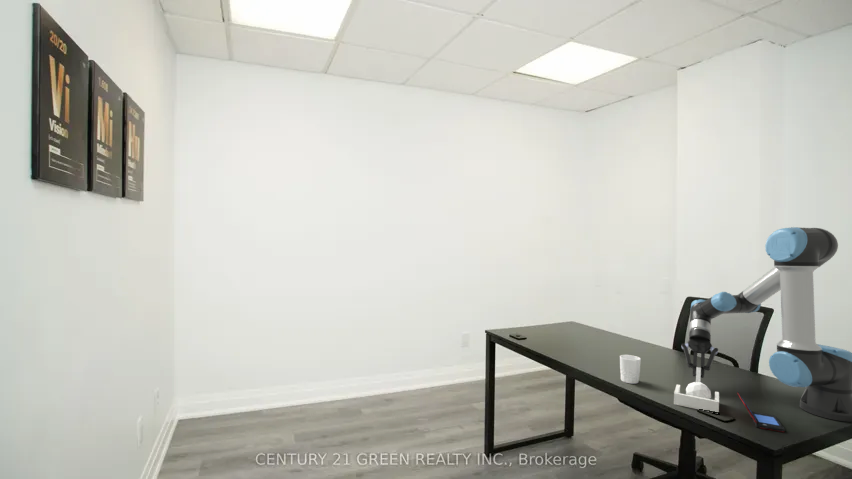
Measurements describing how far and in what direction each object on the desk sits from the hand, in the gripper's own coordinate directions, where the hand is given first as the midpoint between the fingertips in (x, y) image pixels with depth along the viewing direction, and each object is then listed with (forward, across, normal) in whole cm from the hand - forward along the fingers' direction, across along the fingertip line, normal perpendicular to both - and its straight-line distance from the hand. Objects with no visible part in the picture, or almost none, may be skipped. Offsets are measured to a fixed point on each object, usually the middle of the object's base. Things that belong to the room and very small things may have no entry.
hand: (698, 383), depth 163 cm
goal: (+11, 0, +6) cm, 12 cm away
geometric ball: (+11, 0, +5) cm, 12 cm away
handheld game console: (+15, -18, +9) cm, 25 cm away
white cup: (+3, +24, -2) cm, 24 cm away
